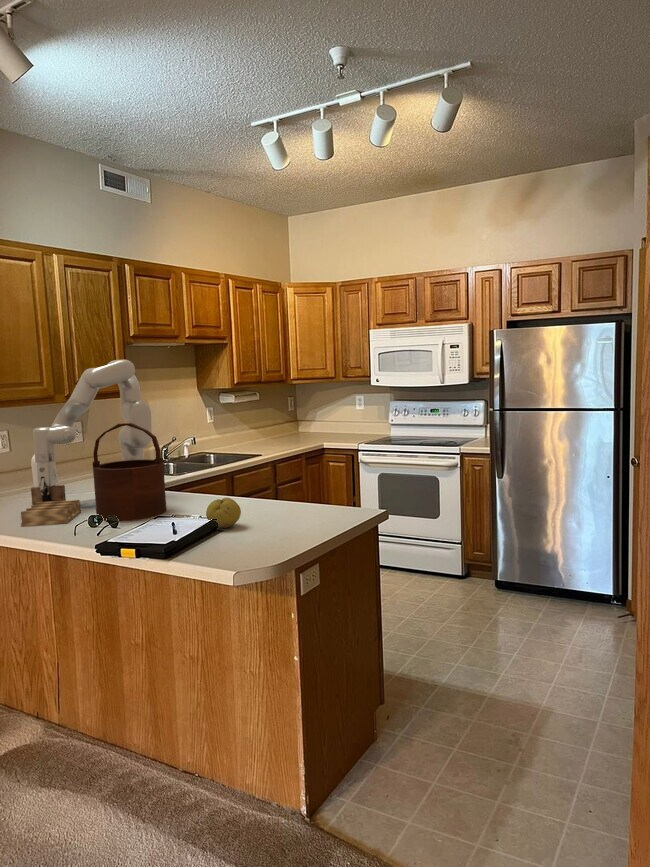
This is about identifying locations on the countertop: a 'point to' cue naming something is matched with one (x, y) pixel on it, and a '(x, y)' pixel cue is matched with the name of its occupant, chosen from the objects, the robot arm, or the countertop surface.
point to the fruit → (224, 512)
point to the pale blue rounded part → (88, 503)
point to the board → (55, 492)
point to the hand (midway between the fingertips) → (49, 502)
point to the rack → (50, 513)
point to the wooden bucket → (130, 484)
